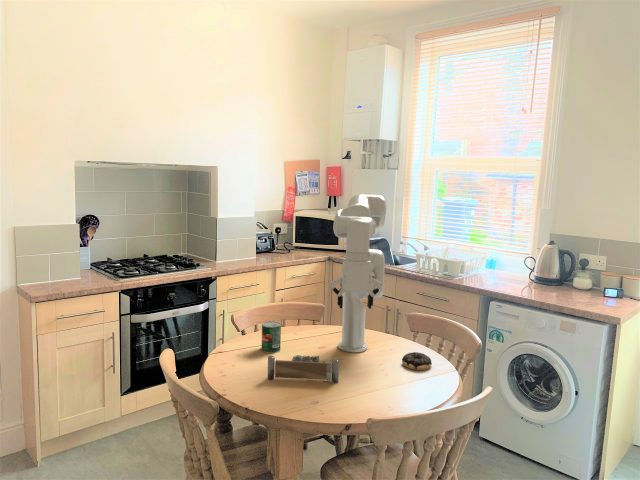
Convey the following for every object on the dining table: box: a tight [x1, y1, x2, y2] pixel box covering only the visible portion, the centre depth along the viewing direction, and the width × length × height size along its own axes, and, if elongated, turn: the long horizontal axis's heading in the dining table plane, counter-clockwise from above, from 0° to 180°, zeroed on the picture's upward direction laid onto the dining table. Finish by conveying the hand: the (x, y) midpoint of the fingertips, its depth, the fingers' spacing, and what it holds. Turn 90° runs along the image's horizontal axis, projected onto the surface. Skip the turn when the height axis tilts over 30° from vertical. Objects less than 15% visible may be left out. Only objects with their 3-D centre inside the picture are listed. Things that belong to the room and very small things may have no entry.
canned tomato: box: [261, 320, 282, 354], centre depth 211 cm, size 8×8×11 cm
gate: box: [274, 359, 332, 382], centre depth 182 cm, size 2×20×7 cm, turn 88°
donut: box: [401, 351, 433, 371], centre depth 201 cm, size 11×12×4 cm
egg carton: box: [291, 354, 320, 362], centre depth 195 cm, size 11×8×4 cm
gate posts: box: [267, 355, 340, 384], centre depth 182 cm, size 2×25×8 cm, turn 88°
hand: (355, 307), depth 170 cm, fingers open, 9 cm apart
